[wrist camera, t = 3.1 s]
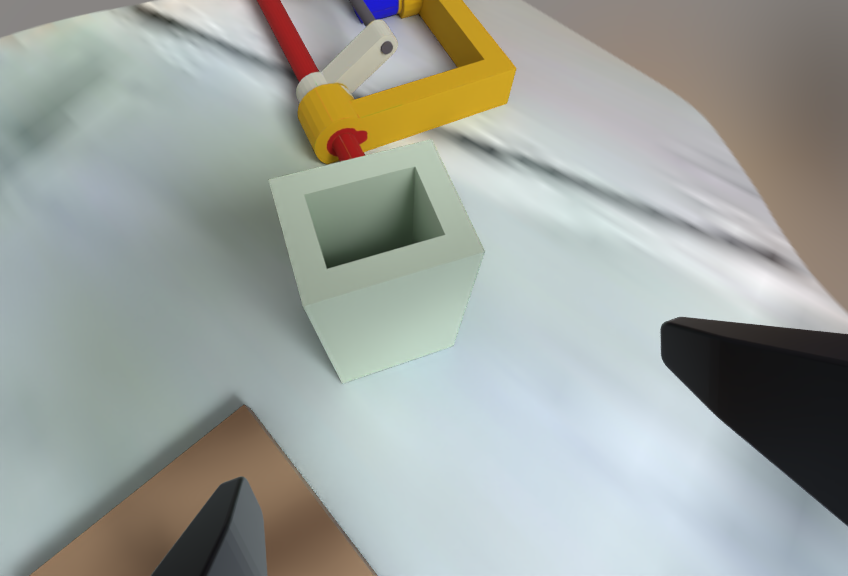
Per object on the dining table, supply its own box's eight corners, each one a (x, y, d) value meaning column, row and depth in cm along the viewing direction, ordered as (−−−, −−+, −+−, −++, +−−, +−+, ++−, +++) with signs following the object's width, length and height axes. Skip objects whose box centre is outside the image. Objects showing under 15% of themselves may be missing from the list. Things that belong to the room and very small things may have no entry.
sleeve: (453, 346, 24) (485, 251, 15) (342, 383, 23) (302, 306, 14) (421, 266, 26) (431, 139, 17) (317, 297, 25) (268, 179, 16)
